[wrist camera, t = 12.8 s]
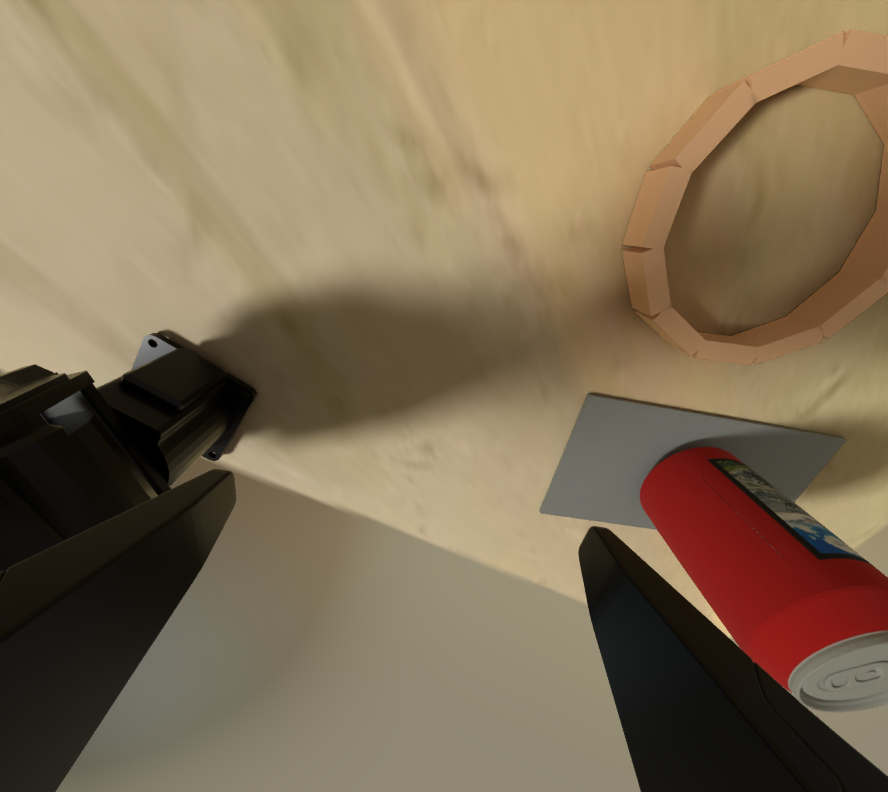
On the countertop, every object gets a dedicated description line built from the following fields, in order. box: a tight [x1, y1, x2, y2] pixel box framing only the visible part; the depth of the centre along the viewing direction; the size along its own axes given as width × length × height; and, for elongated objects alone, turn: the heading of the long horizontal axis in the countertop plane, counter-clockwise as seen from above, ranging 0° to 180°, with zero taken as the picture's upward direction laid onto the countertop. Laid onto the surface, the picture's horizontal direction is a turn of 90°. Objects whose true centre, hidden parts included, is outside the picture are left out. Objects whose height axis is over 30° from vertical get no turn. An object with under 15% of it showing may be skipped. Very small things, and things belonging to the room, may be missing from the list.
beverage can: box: [640, 447, 888, 712], centre depth 19 cm, size 7×7×12 cm
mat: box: [540, 393, 846, 530], centre depth 25 cm, size 18×10×1 cm, turn 79°
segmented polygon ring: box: [622, 29, 888, 365], centre depth 17 cm, size 13×13×2 cm
